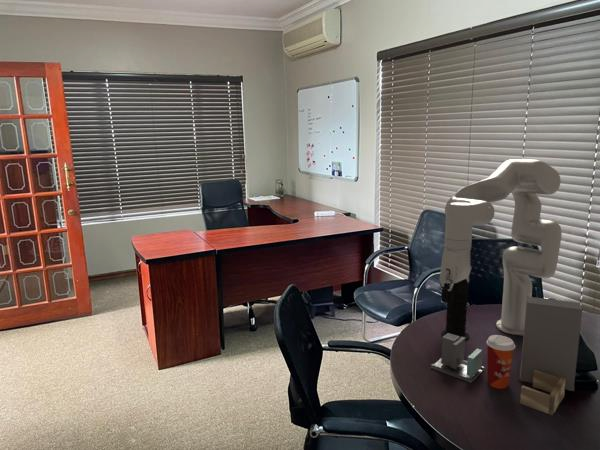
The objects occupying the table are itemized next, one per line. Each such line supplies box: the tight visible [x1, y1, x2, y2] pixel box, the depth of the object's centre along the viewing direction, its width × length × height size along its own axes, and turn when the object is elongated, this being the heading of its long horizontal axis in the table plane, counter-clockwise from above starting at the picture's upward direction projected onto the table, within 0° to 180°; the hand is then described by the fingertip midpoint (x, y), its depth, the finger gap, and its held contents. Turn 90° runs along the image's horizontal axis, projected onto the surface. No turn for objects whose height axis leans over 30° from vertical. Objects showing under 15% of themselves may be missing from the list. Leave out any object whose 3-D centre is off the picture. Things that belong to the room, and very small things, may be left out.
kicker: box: [440, 333, 483, 377], centre depth 137 cm, size 7×11×9 cm, turn 46°
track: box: [430, 358, 485, 384], centre depth 138 cm, size 10×13×1 cm
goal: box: [519, 370, 566, 416], centre depth 121 cm, size 12×8×6 cm
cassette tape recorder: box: [519, 296, 583, 392], centre depth 128 cm, size 14×6×25 cm, turn 64°
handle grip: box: [440, 279, 471, 342], centre depth 158 cm, size 10×26×10 cm
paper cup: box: [486, 334, 516, 390], centre depth 128 cm, size 8×8×14 cm
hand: (454, 298), depth 134 cm, fingers open, 9 cm apart
